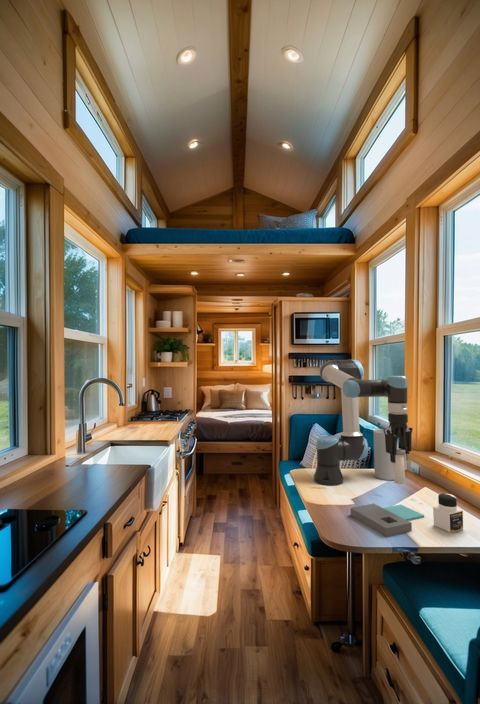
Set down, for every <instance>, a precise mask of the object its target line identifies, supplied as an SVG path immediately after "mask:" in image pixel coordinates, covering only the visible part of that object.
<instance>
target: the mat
mask: <svg viewBox="0 0 480 704" xmlns="http://www.w3.org/2000/svg"><path fill="white" fill-rule="evenodd" d="M383 508H384V509H386V510H388V511H390V512H392V513H394V514H396V515H397V516H399V517H401V518H403V519H405V520H407V521H409V522H410V521H413V520H417V519H422V518H425V514H423V513H420V512H418V511H416V510H414V509H412V508H409V507H407V506H405V505H403V504H398V505H397V504H395V505H392V506H387V507H383Z"/></svg>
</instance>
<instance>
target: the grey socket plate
mask: <svg viewBox="0 0 480 704" xmlns="http://www.w3.org/2000/svg"><path fill="white" fill-rule="evenodd" d="M384 508H385V507H382V506H379V505H377V504H376V503H370V504H364V505H358V506H354V507H353V506H352V507H350V516H351V517H353V518H355V519H356V520H358V521H360V522H361V523H363V524H364V525H366V526H368V527H370V528H371V529H373V530H375V531H376V532H378V533H379V534H381V535H383V536H385V537H386V538H387V537H392V536H396V535H400V534H403V533H404V534H405V533H408V532H409V533H410V532H412V531H413V524H412V521H410V520H409V521H407V520H405V519H403V518H401V517H399V516H397V515H396V514H394V513H392V512H390V511H388V510H386V509H384Z"/></svg>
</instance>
